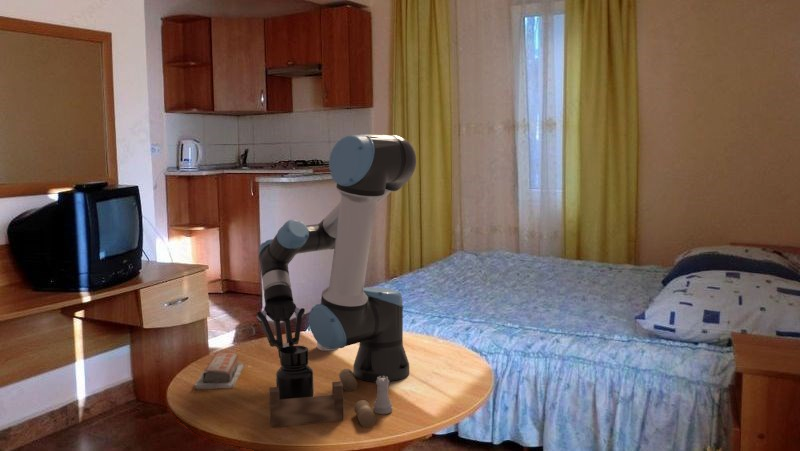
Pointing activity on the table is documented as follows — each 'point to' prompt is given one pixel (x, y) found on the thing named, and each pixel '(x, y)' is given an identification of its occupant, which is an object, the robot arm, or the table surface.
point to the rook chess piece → (382, 396)
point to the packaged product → (220, 372)
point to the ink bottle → (294, 373)
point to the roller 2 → (364, 413)
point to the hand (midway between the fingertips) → (288, 368)
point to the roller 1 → (348, 380)
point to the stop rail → (306, 408)
